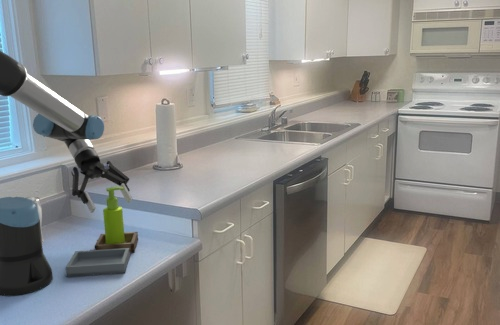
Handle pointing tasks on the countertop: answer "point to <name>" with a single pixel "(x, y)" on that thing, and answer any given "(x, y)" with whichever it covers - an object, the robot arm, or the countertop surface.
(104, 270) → the tray
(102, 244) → the holder collar
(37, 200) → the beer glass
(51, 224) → the countertop surface
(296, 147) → the countertop surface
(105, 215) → the soap dispenser
